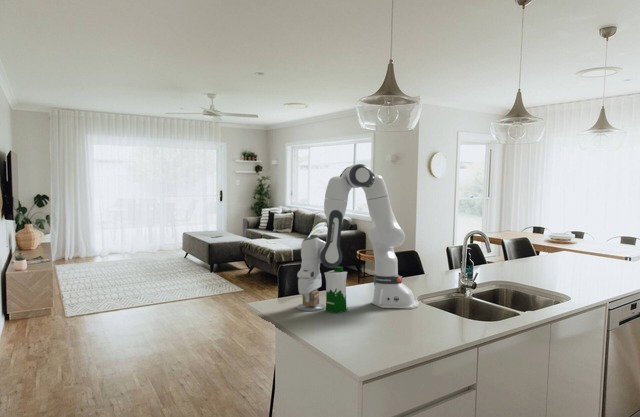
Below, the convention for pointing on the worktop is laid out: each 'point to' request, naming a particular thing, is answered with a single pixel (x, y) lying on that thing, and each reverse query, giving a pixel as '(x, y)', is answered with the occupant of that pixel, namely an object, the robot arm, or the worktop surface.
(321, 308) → the coaster
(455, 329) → the worktop surface
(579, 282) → the worktop surface
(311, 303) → the letter cube
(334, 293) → the soya milk
